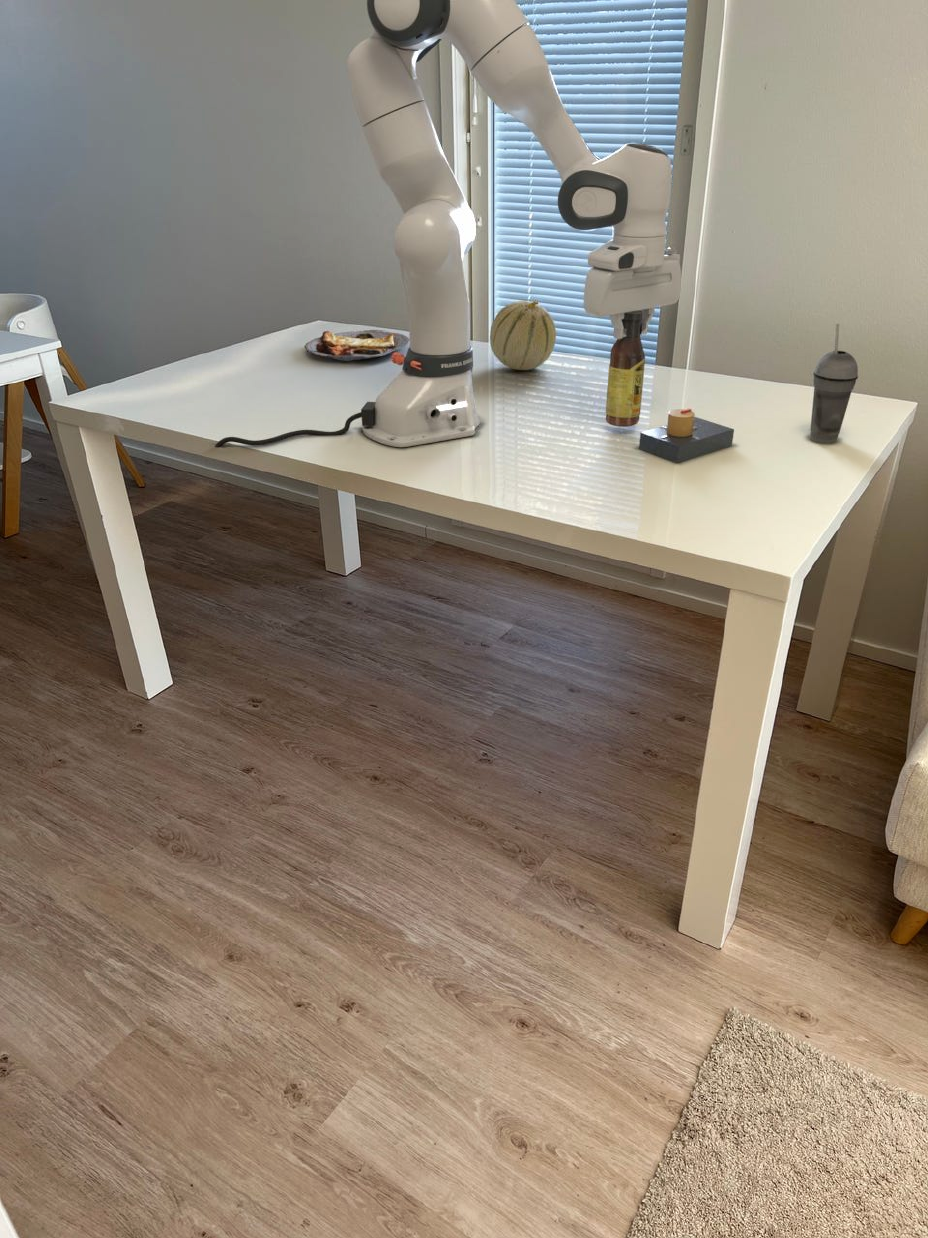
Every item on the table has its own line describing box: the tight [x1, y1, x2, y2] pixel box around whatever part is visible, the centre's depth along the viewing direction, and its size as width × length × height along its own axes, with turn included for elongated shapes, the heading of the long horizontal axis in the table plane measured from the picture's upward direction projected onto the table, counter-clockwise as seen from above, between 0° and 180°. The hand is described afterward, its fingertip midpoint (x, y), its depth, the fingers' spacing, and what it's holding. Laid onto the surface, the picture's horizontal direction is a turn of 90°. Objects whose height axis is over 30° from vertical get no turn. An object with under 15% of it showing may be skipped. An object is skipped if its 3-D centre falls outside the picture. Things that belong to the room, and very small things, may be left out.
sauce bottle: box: [605, 310, 646, 428], centre depth 164 cm, size 7×6×20 cm
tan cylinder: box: [666, 408, 696, 437], centre depth 158 cm, size 4×4×4 cm
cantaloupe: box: [489, 300, 557, 371], centre depth 203 cm, size 15×15×15 cm
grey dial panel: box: [638, 416, 735, 464], centre depth 161 cm, size 14×9×3 cm, turn 126°
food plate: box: [303, 329, 410, 362], centre depth 222 cm, size 25×23×4 cm
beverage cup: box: [809, 323, 859, 445], centre depth 159 cm, size 7×7×20 cm
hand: (630, 336), depth 161 cm, fingers closed on sauce bottle, 4 cm apart
